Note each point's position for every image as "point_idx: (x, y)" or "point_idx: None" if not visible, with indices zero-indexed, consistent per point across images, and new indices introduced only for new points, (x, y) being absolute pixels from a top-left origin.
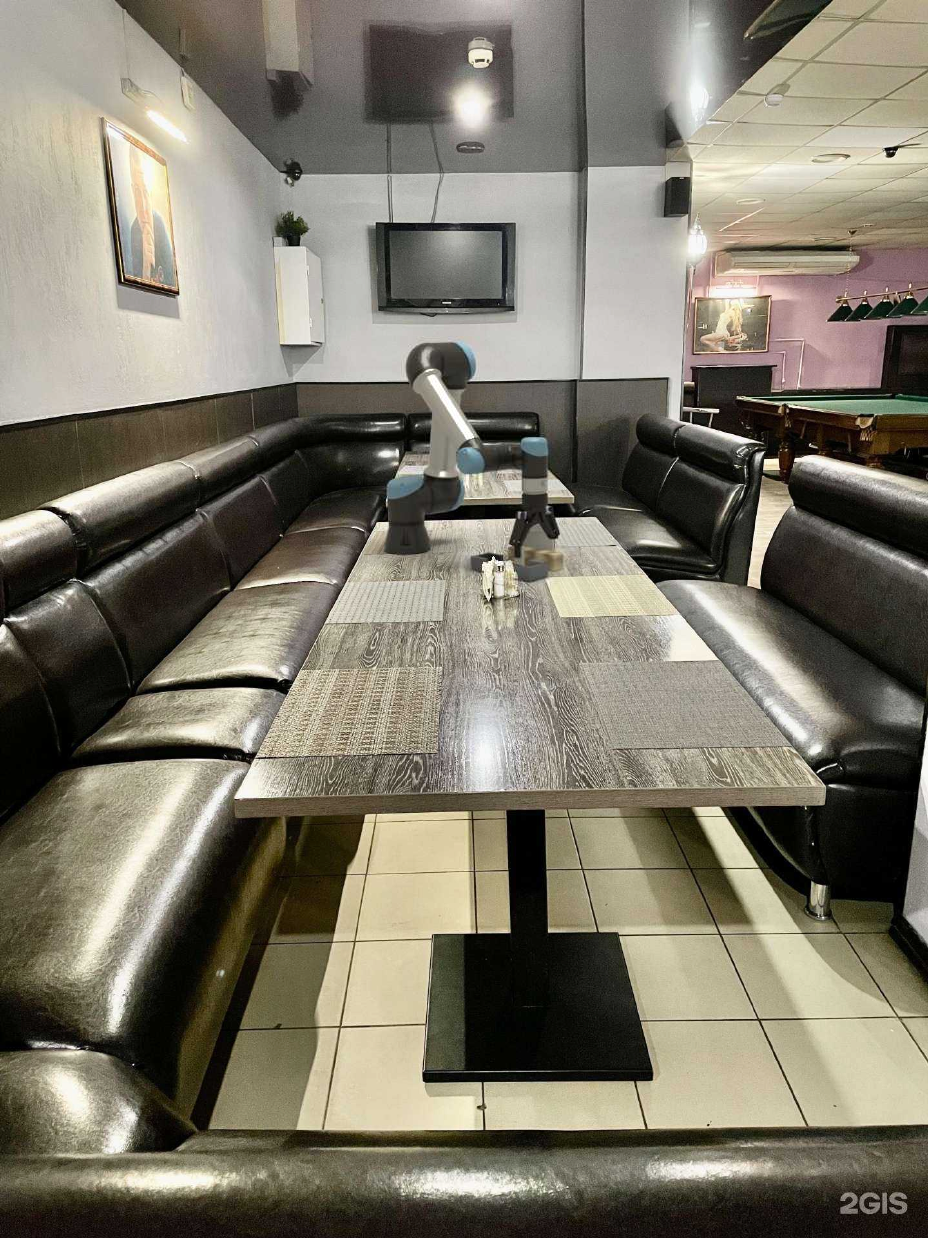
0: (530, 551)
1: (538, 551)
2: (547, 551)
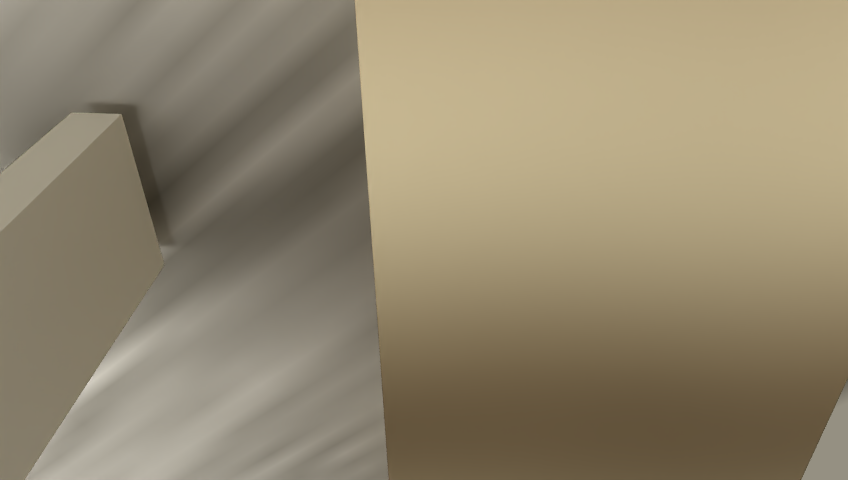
0: (804, 460)
1: (721, 293)
2: (530, 39)
